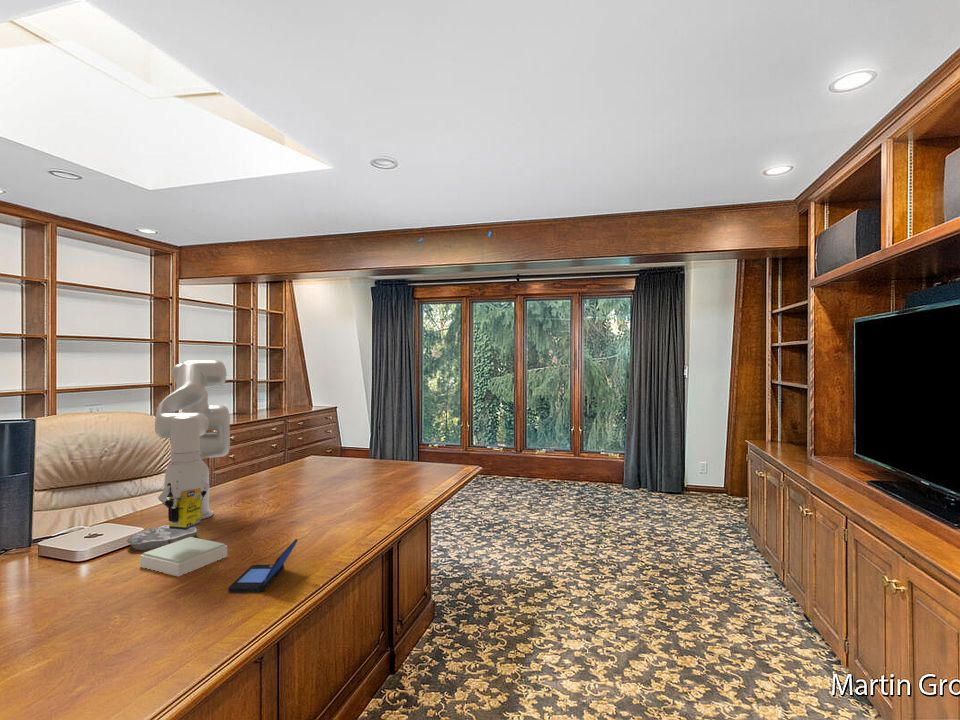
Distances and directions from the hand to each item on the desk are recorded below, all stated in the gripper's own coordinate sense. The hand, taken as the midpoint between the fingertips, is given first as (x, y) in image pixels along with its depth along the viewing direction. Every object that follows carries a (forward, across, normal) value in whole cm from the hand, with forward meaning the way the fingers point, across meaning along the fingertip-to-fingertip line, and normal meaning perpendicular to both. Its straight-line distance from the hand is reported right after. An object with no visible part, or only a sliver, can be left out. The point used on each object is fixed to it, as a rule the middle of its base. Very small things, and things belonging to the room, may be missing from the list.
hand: (185, 517), depth 153 cm
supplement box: (+3, 0, 0) cm, 3 cm away
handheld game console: (+14, 0, +31) cm, 34 cm away
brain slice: (+14, -9, -23) cm, 28 cm away
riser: (+13, 0, 0) cm, 13 cm away
